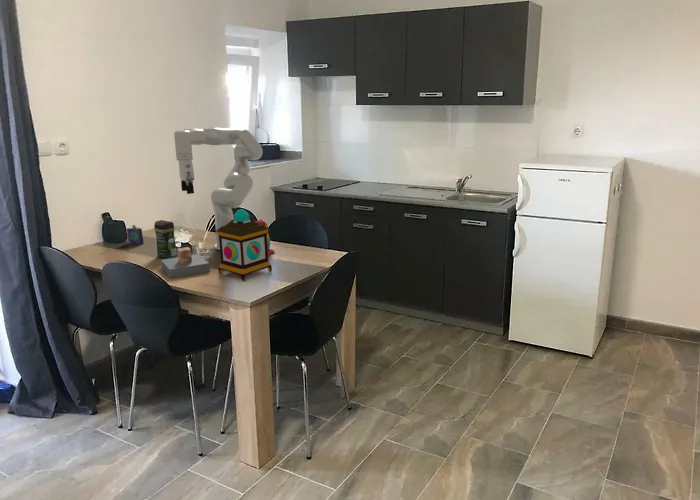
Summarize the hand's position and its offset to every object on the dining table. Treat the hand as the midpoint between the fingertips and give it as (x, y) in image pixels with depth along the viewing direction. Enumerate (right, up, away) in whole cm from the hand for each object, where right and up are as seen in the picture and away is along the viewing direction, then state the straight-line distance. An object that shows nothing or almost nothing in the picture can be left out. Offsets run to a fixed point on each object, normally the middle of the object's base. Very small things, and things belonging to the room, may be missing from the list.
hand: (187, 192), depth 284 cm
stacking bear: (+35, -31, +12) cm, 48 cm away
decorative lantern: (+31, -39, -17) cm, 53 cm away
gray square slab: (+2, -37, -10) cm, 39 cm away
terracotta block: (+2, -34, -11) cm, 35 cm away
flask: (-39, -25, +37) cm, 60 cm away
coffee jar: (-14, -32, +12) cm, 37 cm away
